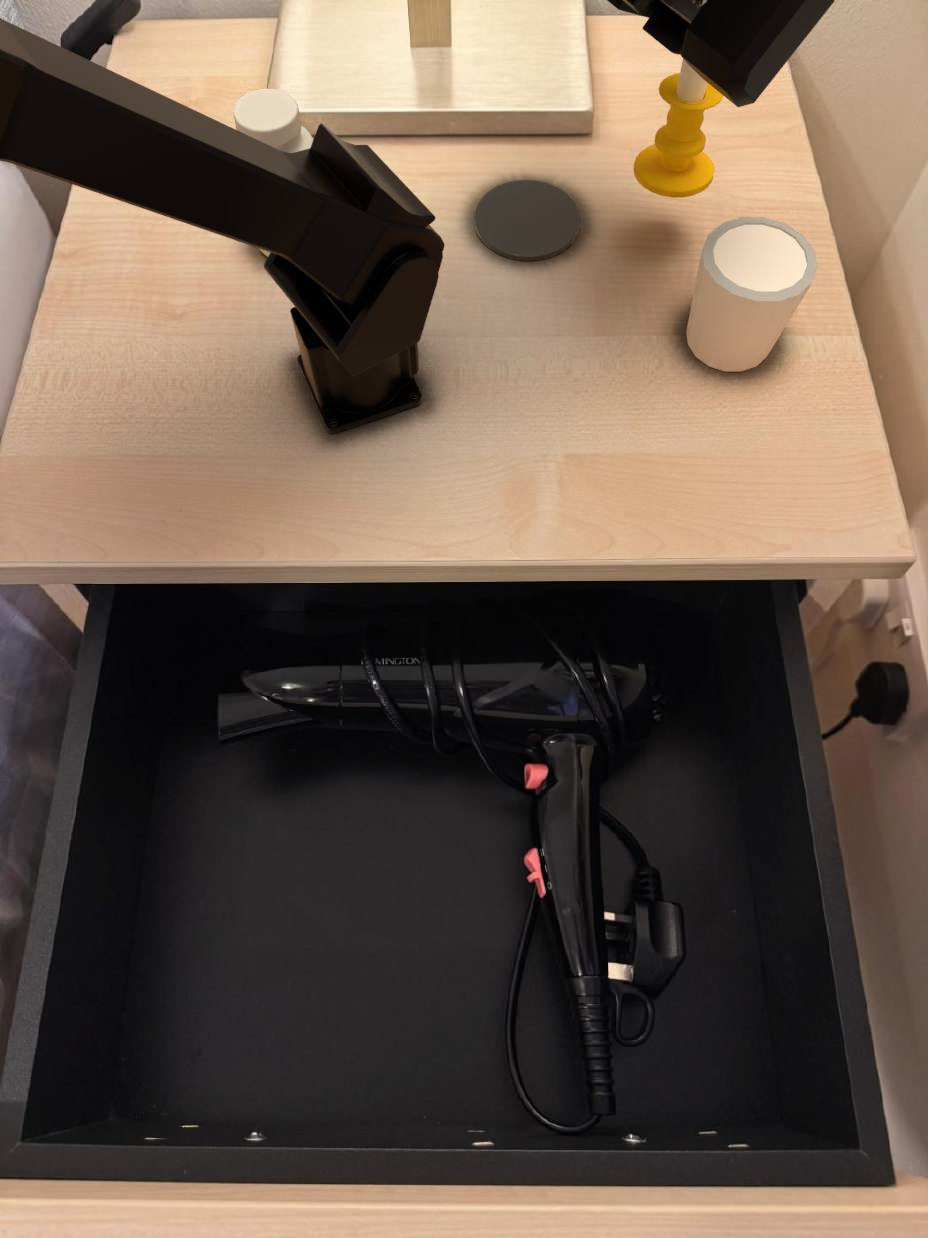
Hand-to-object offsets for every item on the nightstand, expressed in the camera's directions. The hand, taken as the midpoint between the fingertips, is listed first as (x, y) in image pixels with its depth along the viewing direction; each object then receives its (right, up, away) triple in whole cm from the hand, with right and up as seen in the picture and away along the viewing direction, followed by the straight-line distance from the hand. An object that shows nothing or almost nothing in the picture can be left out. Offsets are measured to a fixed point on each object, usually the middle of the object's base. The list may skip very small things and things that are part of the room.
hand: (713, 25), depth 51 cm
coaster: (-10, -6, +12) cm, 17 cm away
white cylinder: (+3, -16, +8) cm, 18 cm away
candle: (-1, -5, +7) cm, 9 cm away
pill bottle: (-27, -7, +12) cm, 30 cm away
